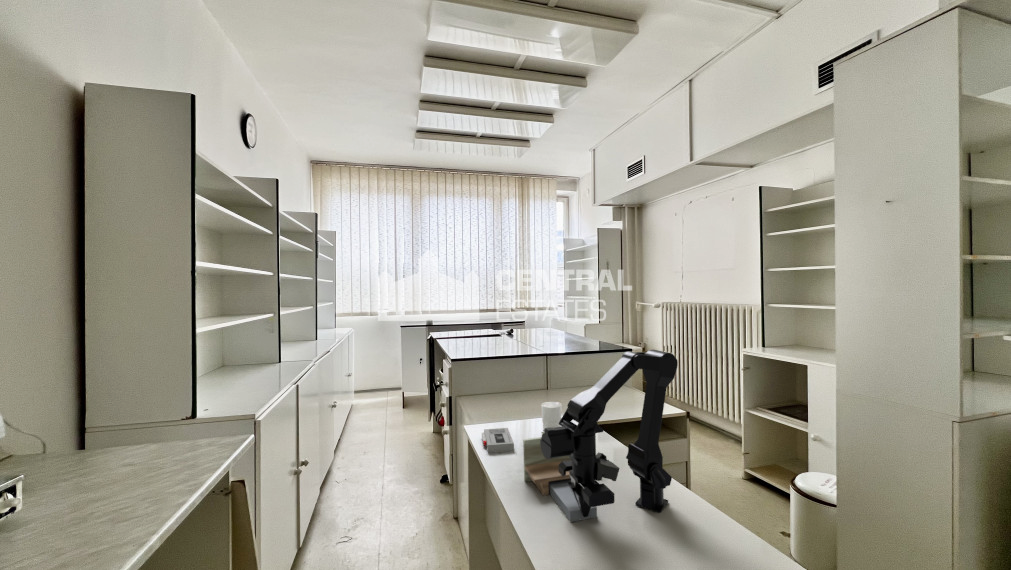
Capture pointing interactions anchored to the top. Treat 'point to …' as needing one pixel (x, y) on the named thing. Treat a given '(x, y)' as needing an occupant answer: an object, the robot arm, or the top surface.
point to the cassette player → (498, 440)
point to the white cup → (551, 414)
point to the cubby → (541, 465)
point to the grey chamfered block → (568, 500)
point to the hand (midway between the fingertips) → (585, 516)
